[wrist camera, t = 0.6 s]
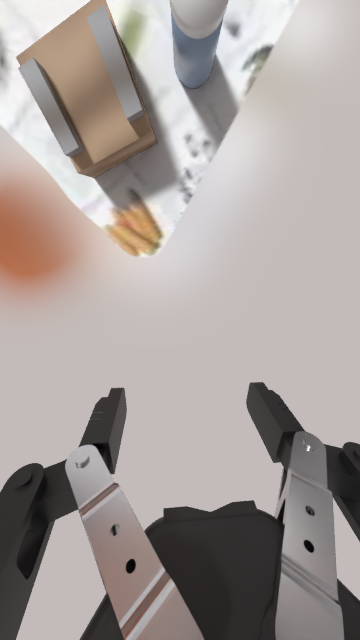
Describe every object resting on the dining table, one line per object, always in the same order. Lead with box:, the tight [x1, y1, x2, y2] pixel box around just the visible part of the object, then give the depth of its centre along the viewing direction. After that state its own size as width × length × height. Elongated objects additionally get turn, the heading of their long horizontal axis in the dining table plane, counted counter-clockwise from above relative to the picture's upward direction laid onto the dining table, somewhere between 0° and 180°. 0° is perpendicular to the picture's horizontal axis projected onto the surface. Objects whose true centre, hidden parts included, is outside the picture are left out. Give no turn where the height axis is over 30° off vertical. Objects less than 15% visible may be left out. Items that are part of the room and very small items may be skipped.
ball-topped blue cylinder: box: [170, 0, 228, 89], centre depth 19 cm, size 5×5×10 cm
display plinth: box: [16, 0, 157, 178], centre depth 23 cm, size 10×10×6 cm
